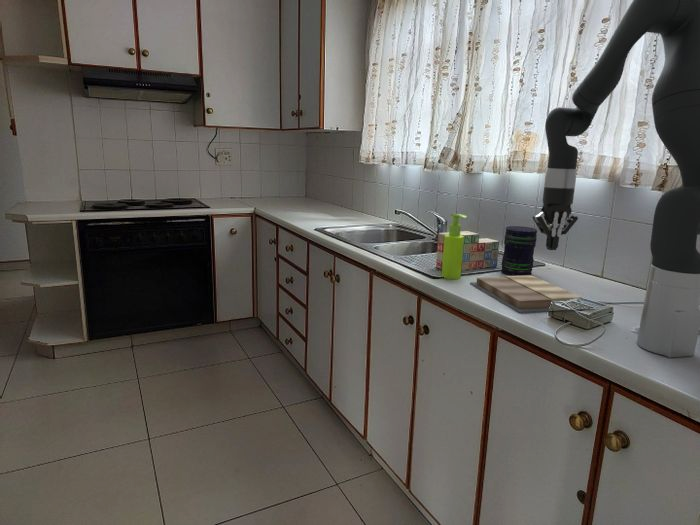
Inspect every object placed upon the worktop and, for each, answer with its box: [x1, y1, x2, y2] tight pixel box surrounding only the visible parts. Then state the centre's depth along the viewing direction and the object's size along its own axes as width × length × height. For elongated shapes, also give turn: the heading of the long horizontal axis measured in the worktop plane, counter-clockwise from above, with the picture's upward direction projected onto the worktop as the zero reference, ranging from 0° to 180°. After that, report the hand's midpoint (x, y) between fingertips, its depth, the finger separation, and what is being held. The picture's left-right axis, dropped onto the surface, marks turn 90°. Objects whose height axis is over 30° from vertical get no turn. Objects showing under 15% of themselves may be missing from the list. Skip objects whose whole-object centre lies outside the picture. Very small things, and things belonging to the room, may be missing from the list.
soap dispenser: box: [441, 213, 468, 280], centre depth 146 cm, size 6×7×20 cm
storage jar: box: [500, 225, 538, 276], centre depth 154 cm, size 10×10×15 cm
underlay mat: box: [469, 281, 549, 314], centre depth 131 cm, size 26×22×1 cm
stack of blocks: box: [435, 230, 500, 271], centre depth 160 cm, size 21×6×12 cm, turn 115°
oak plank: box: [504, 275, 583, 305], centre depth 132 cm, size 22×9×2 cm, turn 14°
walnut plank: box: [476, 276, 551, 309], centre depth 130 cm, size 22×9×2 cm, turn 14°
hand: (551, 249), depth 129 cm, fingers closed
